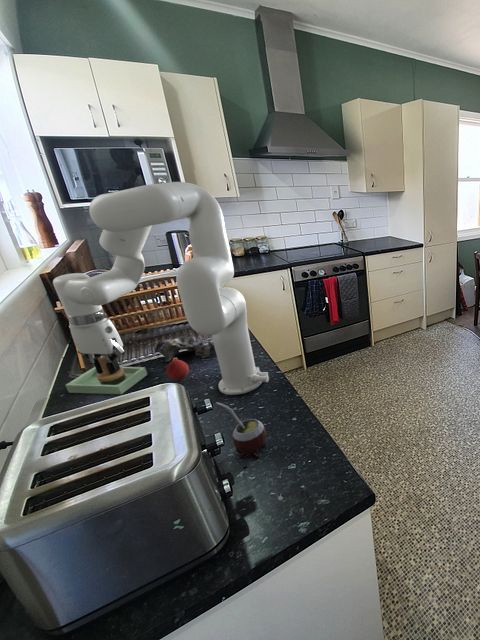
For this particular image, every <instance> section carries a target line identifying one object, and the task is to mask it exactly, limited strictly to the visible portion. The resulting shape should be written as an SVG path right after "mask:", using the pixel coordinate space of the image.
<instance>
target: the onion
mask: <svg viewBox="0 0 480 640" xmlns="http://www.w3.org/2000/svg"><path fill="white" fill-rule="evenodd" d="M189 367H190V366H189V365H188V363H187V362H185V361H183V360H181V359H178V357H172V359H171V360H170V361H169V362H168V364H167V366H166V369H165V373H166V376H167V377H168V378H170V379H171V380H175V381H183V379H184V378H185V377H187V375H188V374H189V372H190V368H189Z"/></svg>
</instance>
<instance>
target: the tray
mask: <svg viewBox="0 0 480 640" xmlns="http://www.w3.org/2000/svg"><path fill="white" fill-rule="evenodd" d="M120 367H121V368H123V369H124V372H125V373H124V374H125V376H126V378H125V380H124V381H122V382H121V383H118V384H116V385H101V384H100V382H99V381H98V379H97V377H96V376H97V374H98V372H97V370H96V368H95V366H94V367H92V368H91V369H89V370H87V371H86V372H84V373H82V374H81V375H79V376H78V377H75V378H74V379H73V380H71V381H69V382H67V383H66V384H64V386H65V388H66V390H67V392H68V393H69V394H96V395H98V394H100V395H123V394H124V393H125V392H126V391H128V390H129V389H131V388H132V387H133V386H134V385H136V384H137V383H138V382H140V381H141V380H143V379H144V378H145V377H146V376H148V372H147V368H146V367H145V366H143V367H142V366H120Z"/></svg>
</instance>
